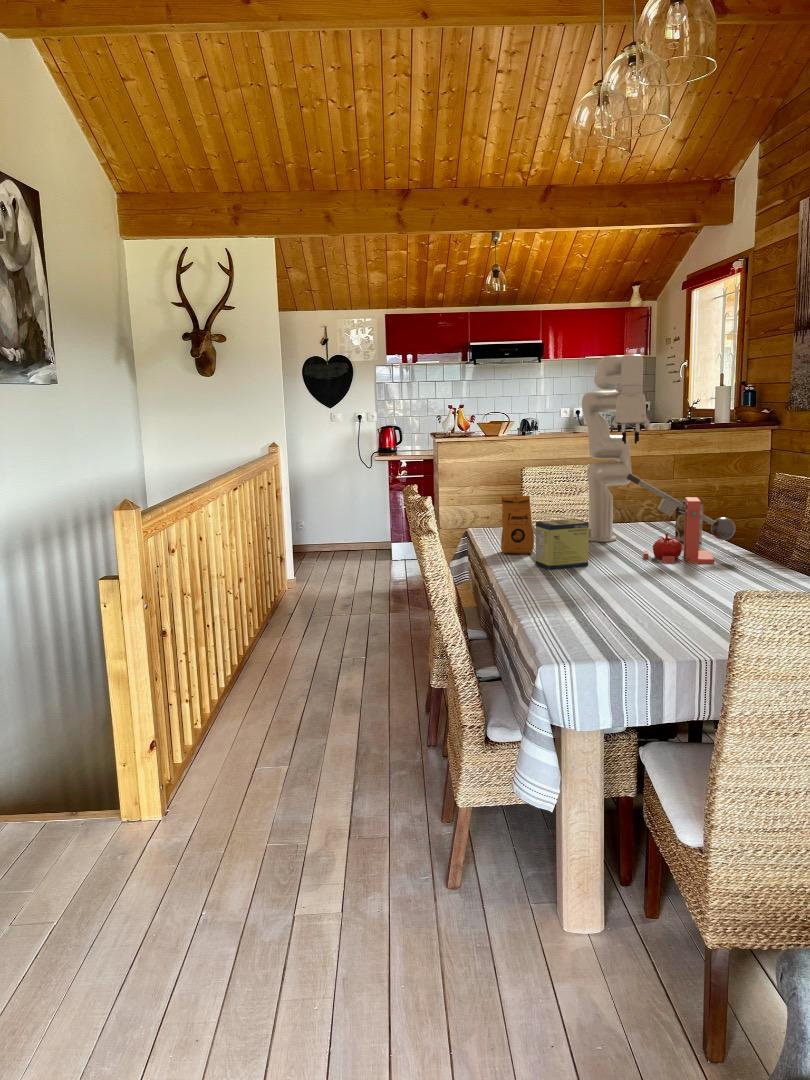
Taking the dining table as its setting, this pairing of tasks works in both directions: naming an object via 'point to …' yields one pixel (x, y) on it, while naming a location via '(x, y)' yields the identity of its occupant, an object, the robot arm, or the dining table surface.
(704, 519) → the lever
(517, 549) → the coffee package
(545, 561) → the protein box
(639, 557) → the dining table surface
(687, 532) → the press stand
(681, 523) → the coffee box
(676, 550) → the pomegranate
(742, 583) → the dining table surface
